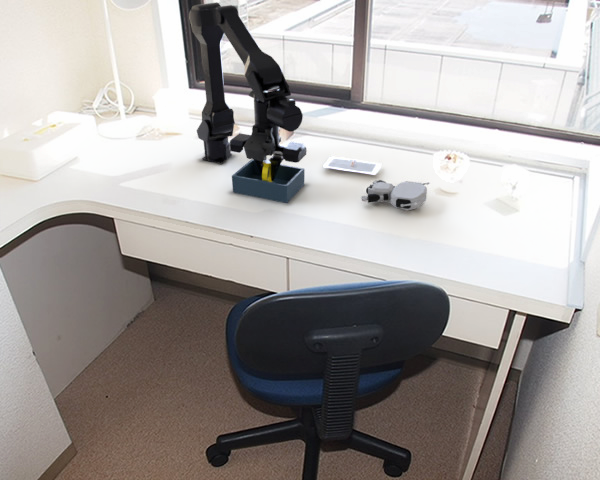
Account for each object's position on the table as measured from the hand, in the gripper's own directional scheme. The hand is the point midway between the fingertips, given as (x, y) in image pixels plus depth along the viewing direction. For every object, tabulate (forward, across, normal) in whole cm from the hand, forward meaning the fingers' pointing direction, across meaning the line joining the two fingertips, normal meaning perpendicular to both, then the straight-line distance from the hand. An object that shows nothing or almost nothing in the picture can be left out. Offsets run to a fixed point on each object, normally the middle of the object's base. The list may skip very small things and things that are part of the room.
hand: (268, 179), depth 142 cm
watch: (+1, 0, 0) cm, 1 cm away
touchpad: (+3, +16, +20) cm, 26 cm away
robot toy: (+3, +32, +5) cm, 33 cm away
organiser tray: (+2, 0, 0) cm, 3 cm away
